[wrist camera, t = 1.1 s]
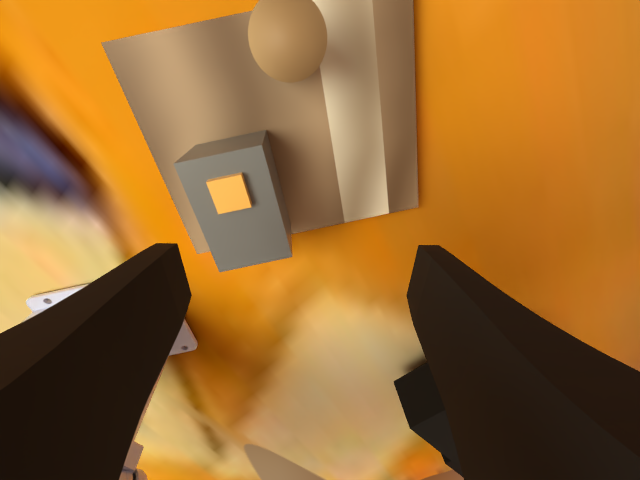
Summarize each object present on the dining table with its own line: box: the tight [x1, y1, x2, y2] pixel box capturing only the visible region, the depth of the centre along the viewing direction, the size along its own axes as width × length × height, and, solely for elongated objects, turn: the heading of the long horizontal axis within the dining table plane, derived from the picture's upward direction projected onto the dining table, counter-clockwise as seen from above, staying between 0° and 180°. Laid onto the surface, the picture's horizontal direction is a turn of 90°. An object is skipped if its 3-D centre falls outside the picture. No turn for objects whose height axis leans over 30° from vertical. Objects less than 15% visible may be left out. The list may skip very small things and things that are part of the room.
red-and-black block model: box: [394, 362, 463, 477], centre depth 30 cm, size 15×8×25 cm
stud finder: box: [174, 130, 292, 272], centre depth 17 cm, size 4×6×4 cm, turn 10°
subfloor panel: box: [102, 0, 418, 254], centre depth 18 cm, size 15×12×1 cm
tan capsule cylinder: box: [248, 0, 327, 83], centre depth 13 cm, size 3×3×6 cm
